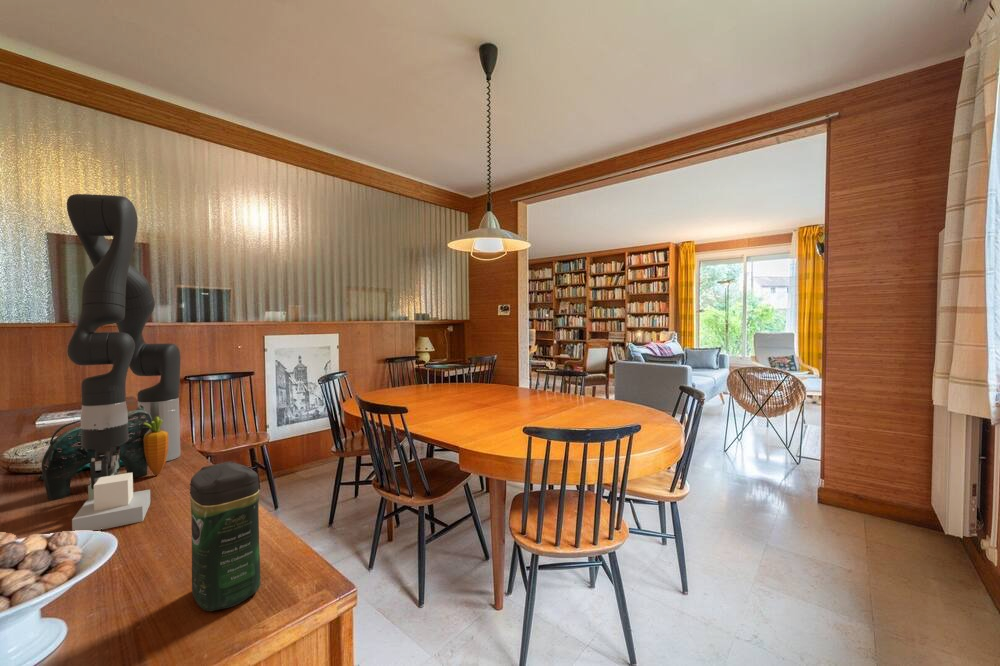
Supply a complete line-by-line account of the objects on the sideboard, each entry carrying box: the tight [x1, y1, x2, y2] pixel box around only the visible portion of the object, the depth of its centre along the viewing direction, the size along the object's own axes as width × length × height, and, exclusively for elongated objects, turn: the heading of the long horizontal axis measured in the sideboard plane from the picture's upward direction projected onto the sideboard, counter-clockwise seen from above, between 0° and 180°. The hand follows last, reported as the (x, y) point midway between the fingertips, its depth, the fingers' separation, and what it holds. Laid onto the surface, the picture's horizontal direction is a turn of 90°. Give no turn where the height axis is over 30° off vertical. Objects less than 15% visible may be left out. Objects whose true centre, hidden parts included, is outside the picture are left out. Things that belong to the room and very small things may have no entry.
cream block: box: [94, 472, 134, 511], centre depth 84 cm, size 5×5×5 cm
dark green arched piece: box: [41, 405, 152, 501], centre depth 101 cm, size 20×6×20 cm, turn 152°
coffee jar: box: [189, 461, 261, 612], centre depth 61 cm, size 10×8×19 cm
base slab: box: [71, 489, 151, 531], centre depth 84 cm, size 10×10×3 cm
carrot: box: [143, 417, 168, 476], centre depth 107 cm, size 5×5×15 cm
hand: (107, 499), depth 92 cm, fingers open, 6 cm apart
